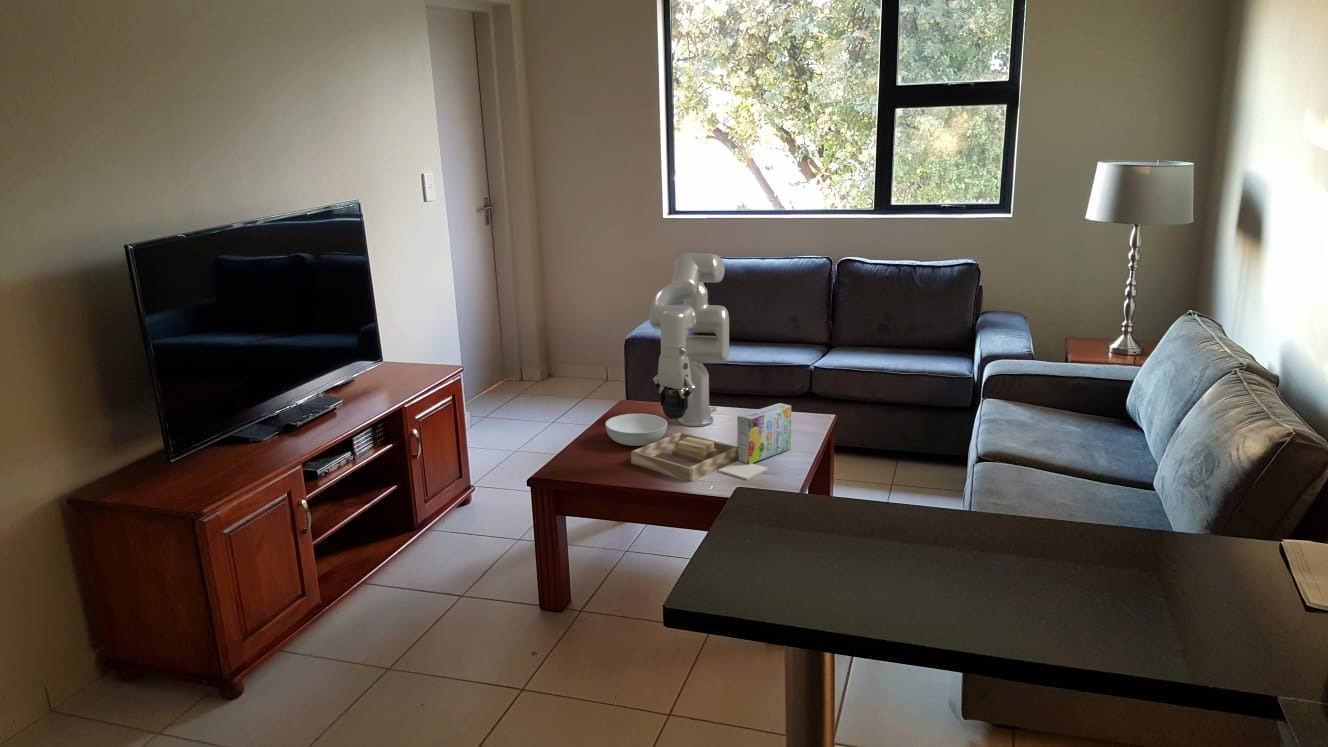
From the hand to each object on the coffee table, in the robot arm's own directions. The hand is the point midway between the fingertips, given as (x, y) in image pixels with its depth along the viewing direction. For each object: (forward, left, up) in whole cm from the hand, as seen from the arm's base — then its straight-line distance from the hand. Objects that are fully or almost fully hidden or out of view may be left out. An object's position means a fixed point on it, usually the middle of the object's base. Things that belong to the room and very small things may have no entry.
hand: (674, 406), depth 278 cm
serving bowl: (-9, -25, -20) cm, 33 cm away
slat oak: (-10, 0, -18) cm, 21 cm away
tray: (-5, 0, -19) cm, 20 cm away
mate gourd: (0, 0, -4) cm, 4 cm away
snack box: (-25, +17, -19) cm, 35 cm away
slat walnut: (-10, 0, -20) cm, 23 cm away
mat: (-10, +19, -19) cm, 29 cm away
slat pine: (-10, 0, -16) cm, 19 cm away
